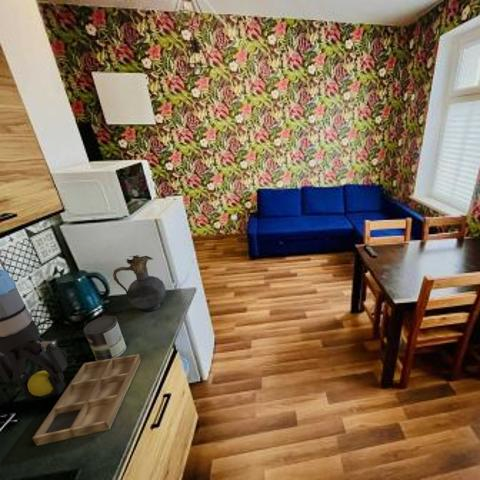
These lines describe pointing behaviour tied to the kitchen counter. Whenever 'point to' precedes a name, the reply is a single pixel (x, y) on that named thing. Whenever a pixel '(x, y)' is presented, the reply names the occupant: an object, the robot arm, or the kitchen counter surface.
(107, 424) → the wooden compartment tray
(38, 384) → the lemon
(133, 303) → the pitcher
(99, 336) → the coffee can
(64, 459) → the kitchen counter surface
